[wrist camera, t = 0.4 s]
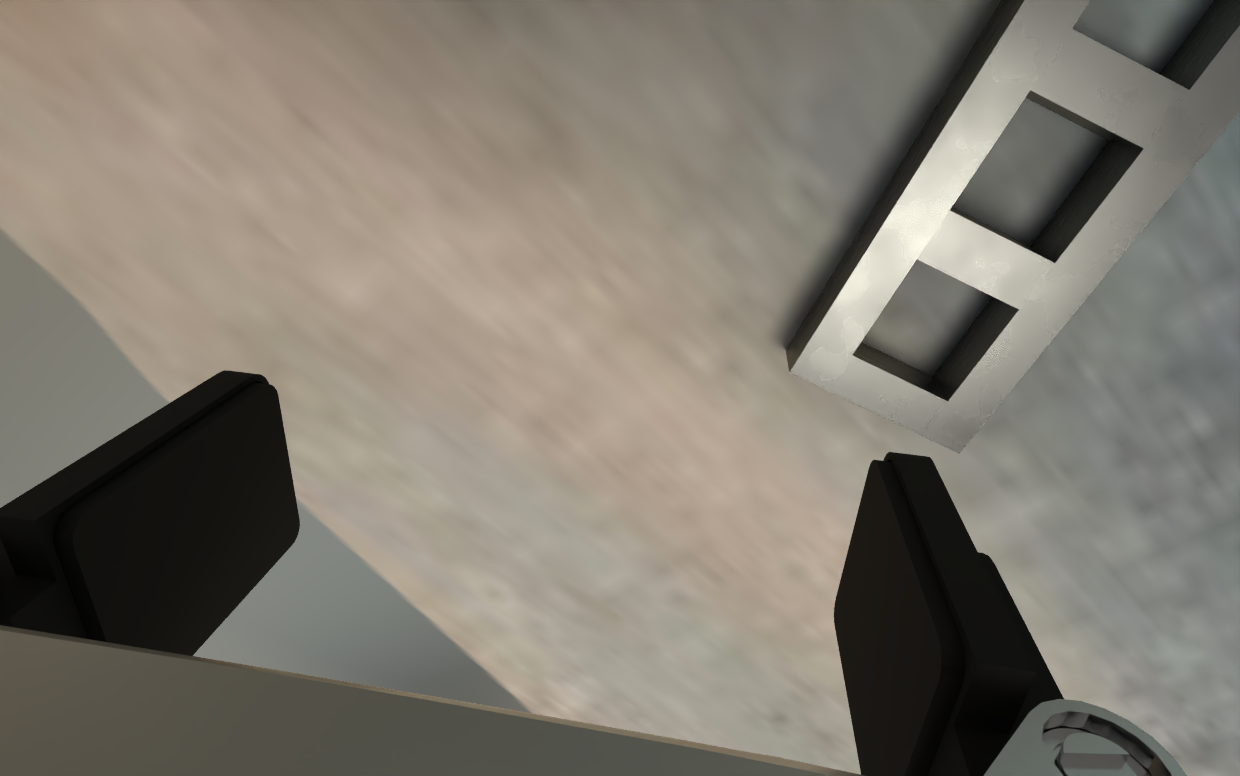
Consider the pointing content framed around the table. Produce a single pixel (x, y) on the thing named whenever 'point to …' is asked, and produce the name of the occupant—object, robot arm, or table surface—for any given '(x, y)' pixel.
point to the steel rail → (991, 261)
